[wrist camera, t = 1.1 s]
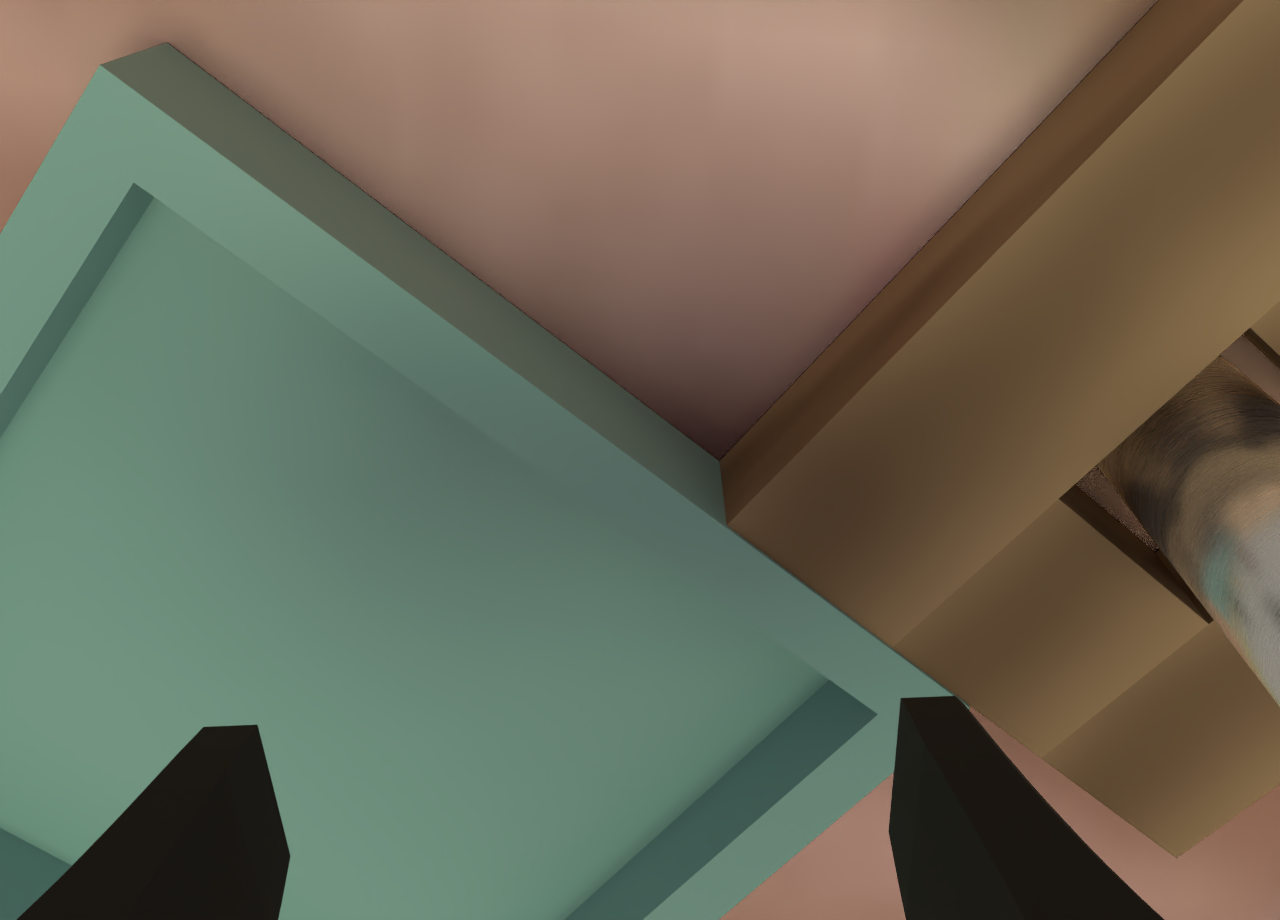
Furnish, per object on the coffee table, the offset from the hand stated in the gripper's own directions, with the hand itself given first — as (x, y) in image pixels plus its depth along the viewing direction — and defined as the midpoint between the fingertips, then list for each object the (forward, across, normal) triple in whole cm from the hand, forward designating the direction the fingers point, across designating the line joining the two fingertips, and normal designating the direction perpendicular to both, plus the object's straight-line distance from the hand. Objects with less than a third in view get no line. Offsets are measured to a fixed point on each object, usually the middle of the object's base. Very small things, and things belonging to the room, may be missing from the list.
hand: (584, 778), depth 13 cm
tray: (+10, +6, +6) cm, 13 cm away
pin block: (+10, -11, +1) cm, 14 cm away
